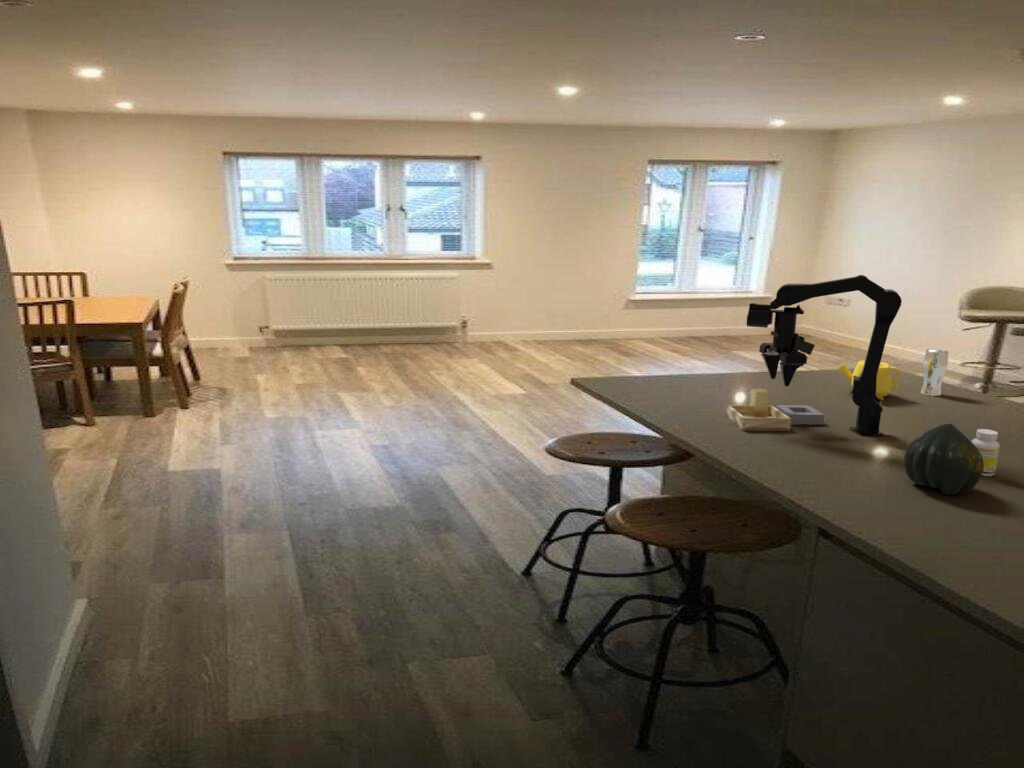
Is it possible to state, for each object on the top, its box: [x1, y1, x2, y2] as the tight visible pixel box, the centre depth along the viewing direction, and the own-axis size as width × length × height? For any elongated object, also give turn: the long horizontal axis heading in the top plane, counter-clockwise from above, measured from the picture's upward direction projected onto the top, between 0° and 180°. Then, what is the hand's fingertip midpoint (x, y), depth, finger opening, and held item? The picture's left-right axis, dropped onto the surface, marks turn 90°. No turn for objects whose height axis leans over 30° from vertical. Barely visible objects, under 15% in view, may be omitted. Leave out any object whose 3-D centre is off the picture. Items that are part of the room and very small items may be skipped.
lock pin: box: [748, 388, 771, 418], centre depth 203 cm, size 4×4×9 cm
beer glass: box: [920, 348, 949, 397], centre depth 240 cm, size 7×7×15 cm
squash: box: [903, 423, 984, 495], centre depth 157 cm, size 14×15×15 cm
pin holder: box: [775, 404, 825, 426], centre depth 208 cm, size 10×10×3 cm
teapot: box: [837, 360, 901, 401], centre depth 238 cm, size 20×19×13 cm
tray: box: [725, 404, 792, 432], centre depth 204 cm, size 14×14×4 cm
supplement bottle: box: [970, 428, 1001, 477], centre depth 167 cm, size 6×6×10 cm
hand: (779, 382), depth 204 cm, fingers open, 9 cm apart
